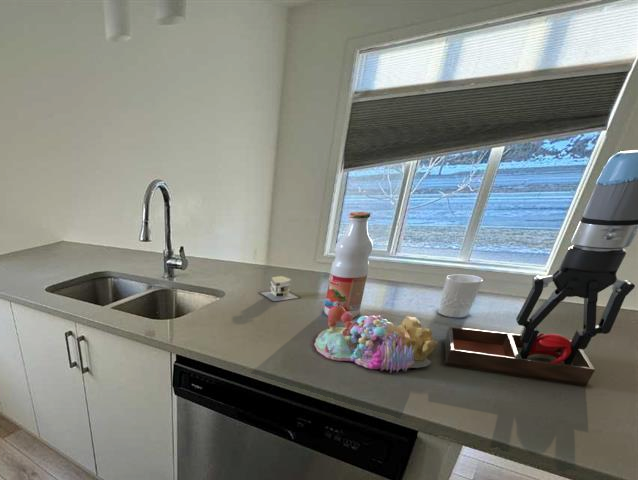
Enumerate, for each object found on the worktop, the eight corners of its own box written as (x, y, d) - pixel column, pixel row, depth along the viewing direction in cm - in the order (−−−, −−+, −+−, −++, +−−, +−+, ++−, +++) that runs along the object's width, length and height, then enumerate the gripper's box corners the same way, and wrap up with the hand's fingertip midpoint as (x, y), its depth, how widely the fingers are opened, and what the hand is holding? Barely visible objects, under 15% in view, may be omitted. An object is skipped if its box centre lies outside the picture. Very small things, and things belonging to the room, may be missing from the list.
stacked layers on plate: (259, 292, 142) (261, 277, 139) (283, 289, 143) (285, 274, 140) (273, 301, 133) (275, 285, 131) (298, 297, 134) (301, 281, 132)
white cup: (466, 309, 115) (479, 274, 110) (473, 319, 109) (486, 283, 104) (433, 307, 118) (443, 273, 113) (438, 317, 112) (449, 281, 107)
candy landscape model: (414, 332, 105) (424, 298, 100) (448, 376, 85) (462, 336, 81) (310, 329, 112) (315, 297, 107) (320, 369, 93) (326, 332, 88)
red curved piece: (524, 349, 90) (535, 324, 87) (562, 355, 86) (575, 329, 83) (524, 364, 85) (536, 338, 82) (564, 371, 81) (578, 344, 78)
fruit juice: (362, 319, 115) (386, 214, 101) (327, 319, 117) (345, 216, 103) (353, 307, 123) (374, 209, 109) (320, 308, 125) (336, 211, 111)
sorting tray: (568, 356, 88) (577, 340, 87) (585, 386, 78) (595, 369, 77) (444, 340, 100) (449, 326, 98) (445, 365, 90) (450, 349, 88)
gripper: (531, 249, 76) (488, 358, 88) (686, 253, 66) (614, 375, 78) (525, 241, 81) (485, 345, 93) (668, 243, 72) (603, 359, 83)
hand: (544, 358), depth 85 cm, fingers closed on red curved piece, 6 cm apart
